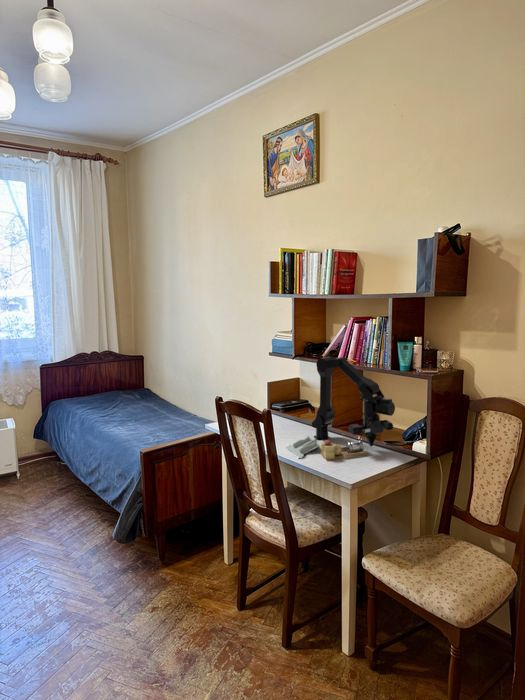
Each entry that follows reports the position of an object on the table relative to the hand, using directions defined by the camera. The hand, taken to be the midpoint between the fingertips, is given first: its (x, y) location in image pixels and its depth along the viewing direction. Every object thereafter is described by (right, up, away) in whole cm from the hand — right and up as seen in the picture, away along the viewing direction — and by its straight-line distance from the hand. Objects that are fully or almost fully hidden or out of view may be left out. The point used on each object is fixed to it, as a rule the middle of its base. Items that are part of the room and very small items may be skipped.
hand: (371, 445), depth 207 cm
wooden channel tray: (-13, -4, -3) cm, 13 cm away
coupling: (-7, -3, -1) cm, 8 cm away
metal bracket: (-29, -4, +5) cm, 29 cm away
